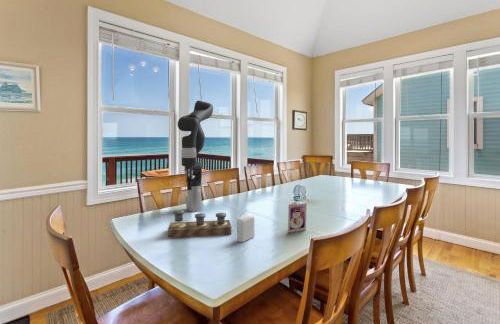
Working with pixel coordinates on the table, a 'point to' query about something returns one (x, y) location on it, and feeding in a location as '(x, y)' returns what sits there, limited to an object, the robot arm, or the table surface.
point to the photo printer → (245, 227)
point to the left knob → (178, 215)
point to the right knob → (221, 218)
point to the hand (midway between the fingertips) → (189, 189)
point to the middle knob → (200, 219)
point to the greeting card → (297, 217)
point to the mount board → (198, 229)
